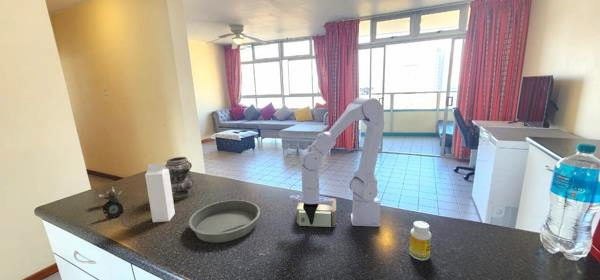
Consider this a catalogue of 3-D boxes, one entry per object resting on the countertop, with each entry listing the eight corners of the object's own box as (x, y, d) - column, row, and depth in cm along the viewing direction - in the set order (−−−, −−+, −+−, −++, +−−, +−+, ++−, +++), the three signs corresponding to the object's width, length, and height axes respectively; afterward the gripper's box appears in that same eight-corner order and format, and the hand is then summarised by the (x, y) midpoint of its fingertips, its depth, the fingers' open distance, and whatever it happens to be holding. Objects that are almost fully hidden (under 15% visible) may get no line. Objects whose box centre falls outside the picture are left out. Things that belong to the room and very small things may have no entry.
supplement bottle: (410, 247, 76) (412, 217, 74) (430, 252, 73) (433, 222, 71) (407, 257, 71) (409, 226, 69) (428, 263, 68) (431, 231, 66)
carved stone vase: (186, 188, 127) (182, 154, 124) (200, 193, 120) (196, 157, 117) (162, 197, 118) (157, 160, 114) (176, 203, 111) (170, 164, 107)
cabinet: (336, 211, 98) (336, 198, 97) (336, 225, 89) (336, 210, 88) (300, 210, 100) (300, 197, 99) (297, 223, 91) (296, 209, 90)
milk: (169, 221, 95) (160, 165, 91) (152, 222, 95) (143, 166, 90) (175, 213, 101) (167, 161, 97) (159, 214, 101) (151, 161, 96)
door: (334, 225, 88) (334, 210, 87) (334, 229, 86) (334, 214, 85) (299, 223, 90) (299, 209, 89) (298, 227, 87) (298, 213, 86)
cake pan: (173, 238, 84) (171, 226, 83) (220, 206, 107) (219, 196, 106) (235, 252, 76) (234, 239, 75) (272, 214, 98) (271, 204, 98)
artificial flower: (100, 225, 97) (87, 202, 95) (110, 208, 117) (99, 190, 114) (126, 213, 101) (114, 191, 99) (131, 199, 120) (121, 181, 118)
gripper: (334, 182, 85) (334, 219, 88) (293, 180, 89) (294, 215, 91) (331, 190, 78) (331, 230, 81) (287, 187, 82) (288, 225, 85)
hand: (311, 223), depth 86 cm, fingers closed, pressing on door
